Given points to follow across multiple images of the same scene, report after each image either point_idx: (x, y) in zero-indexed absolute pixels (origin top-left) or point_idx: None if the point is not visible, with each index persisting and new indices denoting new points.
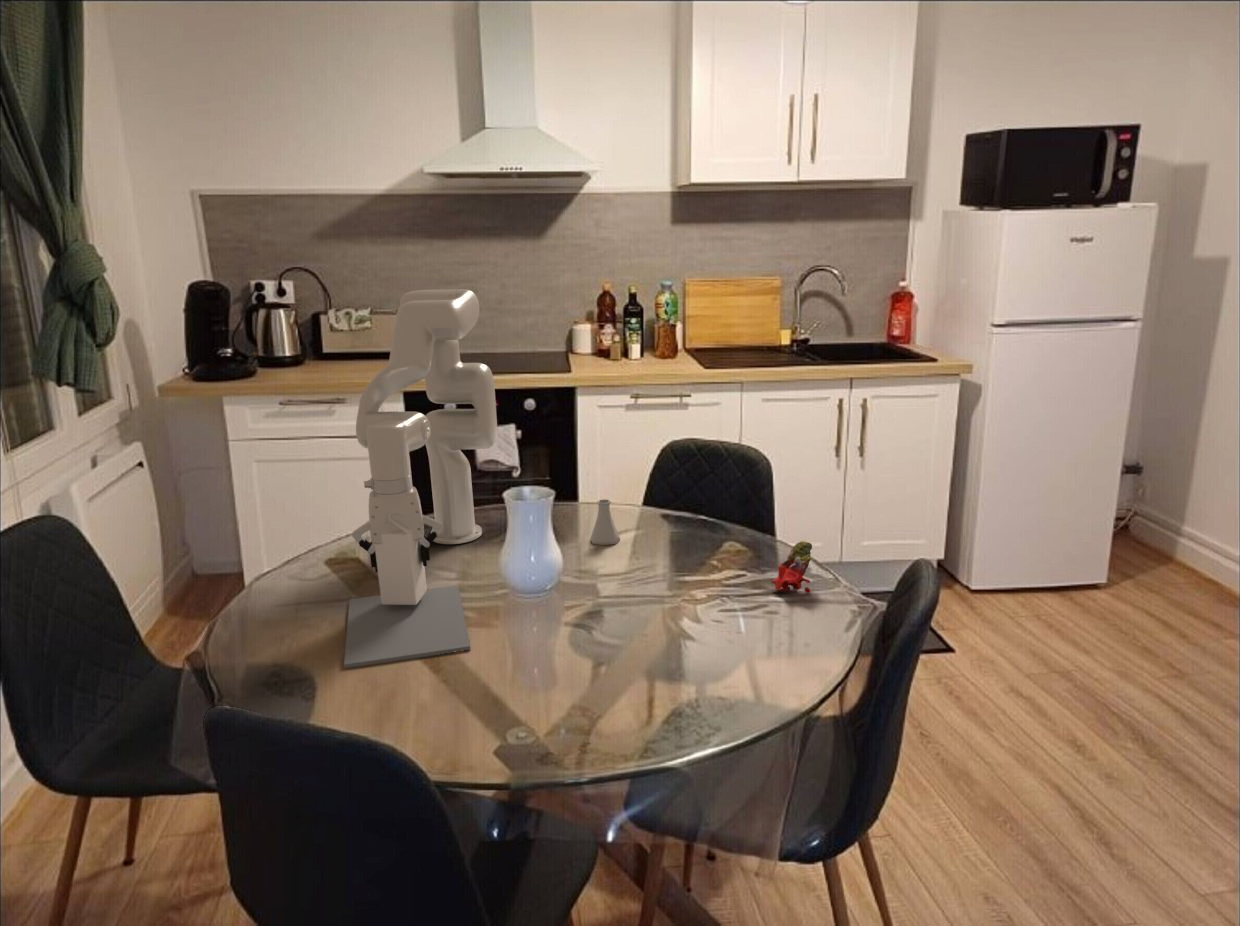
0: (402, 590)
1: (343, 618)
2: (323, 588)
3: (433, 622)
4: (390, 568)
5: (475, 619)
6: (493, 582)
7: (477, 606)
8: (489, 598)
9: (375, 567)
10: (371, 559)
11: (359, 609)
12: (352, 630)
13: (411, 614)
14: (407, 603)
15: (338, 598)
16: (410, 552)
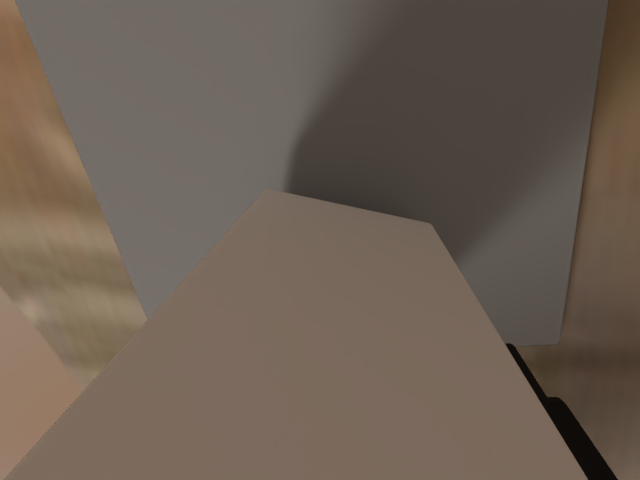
0: (316, 225)
1: (590, 207)
2: (634, 449)
3: (175, 50)
4: (386, 325)
5: (26, 95)
6: (74, 375)
7: (62, 214)
8: (43, 270)
9: (526, 374)
10: (597, 467)
11: (524, 249)
12: (575, 17)
13: (292, 157)
14: (305, 198)
15: (591, 374)
16: (52, 429)
